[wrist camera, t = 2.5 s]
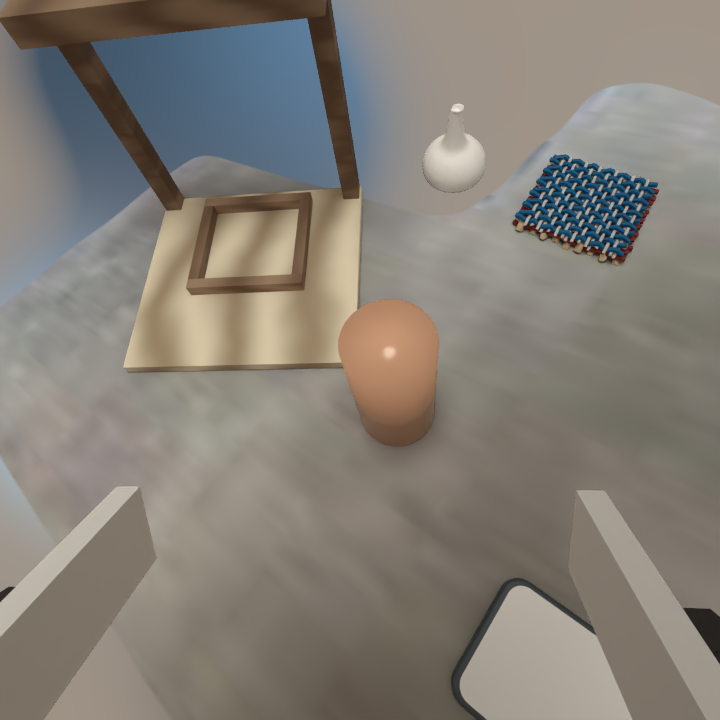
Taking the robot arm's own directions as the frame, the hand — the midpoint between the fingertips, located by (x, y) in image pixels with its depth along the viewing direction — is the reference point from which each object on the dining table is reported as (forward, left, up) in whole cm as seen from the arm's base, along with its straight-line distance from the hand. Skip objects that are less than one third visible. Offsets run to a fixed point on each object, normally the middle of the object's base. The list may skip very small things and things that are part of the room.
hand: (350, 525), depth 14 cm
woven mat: (-18, -32, -23) cm, 43 cm away
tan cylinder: (0, -12, -22) cm, 25 cm away
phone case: (-12, +8, -23) cm, 27 cm away
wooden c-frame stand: (+14, -26, -22) cm, 36 cm away
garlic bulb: (-6, -38, -22) cm, 44 cm away
